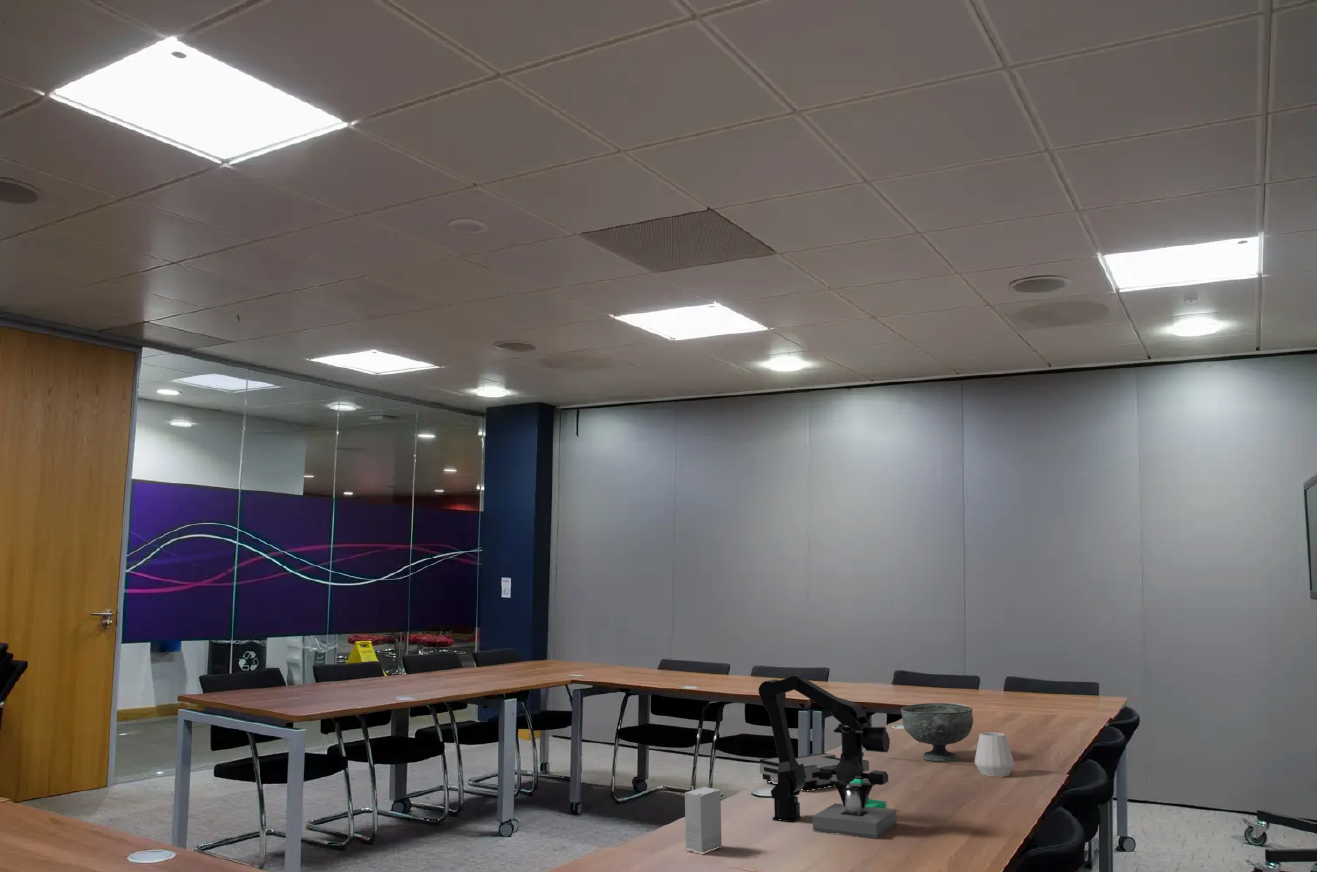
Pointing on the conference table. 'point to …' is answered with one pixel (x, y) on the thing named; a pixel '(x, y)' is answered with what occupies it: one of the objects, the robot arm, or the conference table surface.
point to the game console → (805, 769)
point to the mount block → (855, 821)
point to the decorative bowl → (938, 726)
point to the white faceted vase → (994, 755)
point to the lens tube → (853, 799)
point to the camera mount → (870, 801)
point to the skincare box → (703, 819)
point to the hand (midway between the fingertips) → (854, 807)
